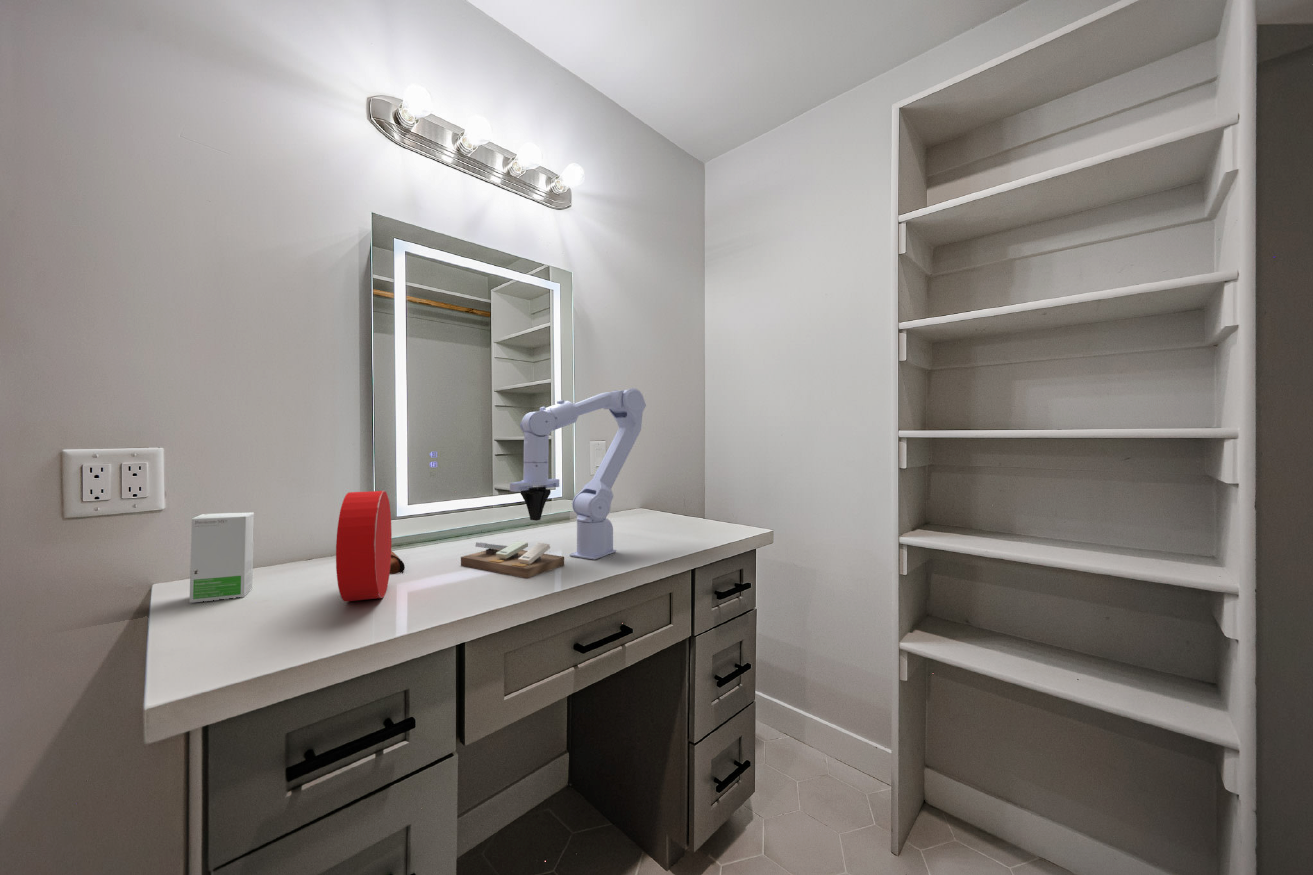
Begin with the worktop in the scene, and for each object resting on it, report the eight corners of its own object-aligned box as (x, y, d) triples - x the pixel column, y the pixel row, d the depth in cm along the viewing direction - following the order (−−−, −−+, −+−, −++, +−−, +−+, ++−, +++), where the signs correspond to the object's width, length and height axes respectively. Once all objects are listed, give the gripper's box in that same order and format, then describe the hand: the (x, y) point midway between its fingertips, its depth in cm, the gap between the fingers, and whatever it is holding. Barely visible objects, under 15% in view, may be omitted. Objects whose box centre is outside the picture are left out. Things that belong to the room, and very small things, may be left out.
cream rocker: (539, 546, 118) (538, 542, 117) (550, 548, 116) (549, 543, 116) (519, 562, 112) (517, 558, 112) (529, 564, 110) (528, 560, 110)
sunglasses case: (348, 561, 121) (364, 536, 123) (376, 572, 125) (391, 547, 127) (362, 578, 107) (380, 549, 109) (393, 589, 111) (410, 561, 113)
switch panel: (500, 554, 128) (500, 543, 128) (564, 565, 118) (564, 552, 118) (460, 565, 118) (460, 553, 118) (527, 578, 107) (527, 564, 107)
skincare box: (188, 604, 91) (187, 518, 91) (200, 594, 97) (199, 513, 97) (246, 597, 95) (245, 515, 95) (255, 587, 101) (254, 510, 101)
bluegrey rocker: (497, 548, 125) (498, 544, 125) (506, 550, 123) (507, 545, 123) (475, 546, 119) (476, 541, 119) (484, 548, 117) (485, 543, 118)
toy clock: (359, 584, 103) (359, 486, 103) (391, 581, 105) (391, 485, 105) (336, 617, 85) (335, 499, 84) (375, 613, 87) (374, 497, 87)
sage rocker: (518, 544, 121) (517, 540, 121) (528, 546, 120) (527, 542, 120) (496, 557, 115) (495, 552, 115) (506, 558, 114) (505, 554, 114)
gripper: (544, 460, 127) (543, 514, 127) (500, 462, 114) (499, 522, 114) (566, 461, 123) (565, 517, 123) (523, 463, 111) (522, 525, 111)
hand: (535, 519), depth 119 cm, fingers closed
